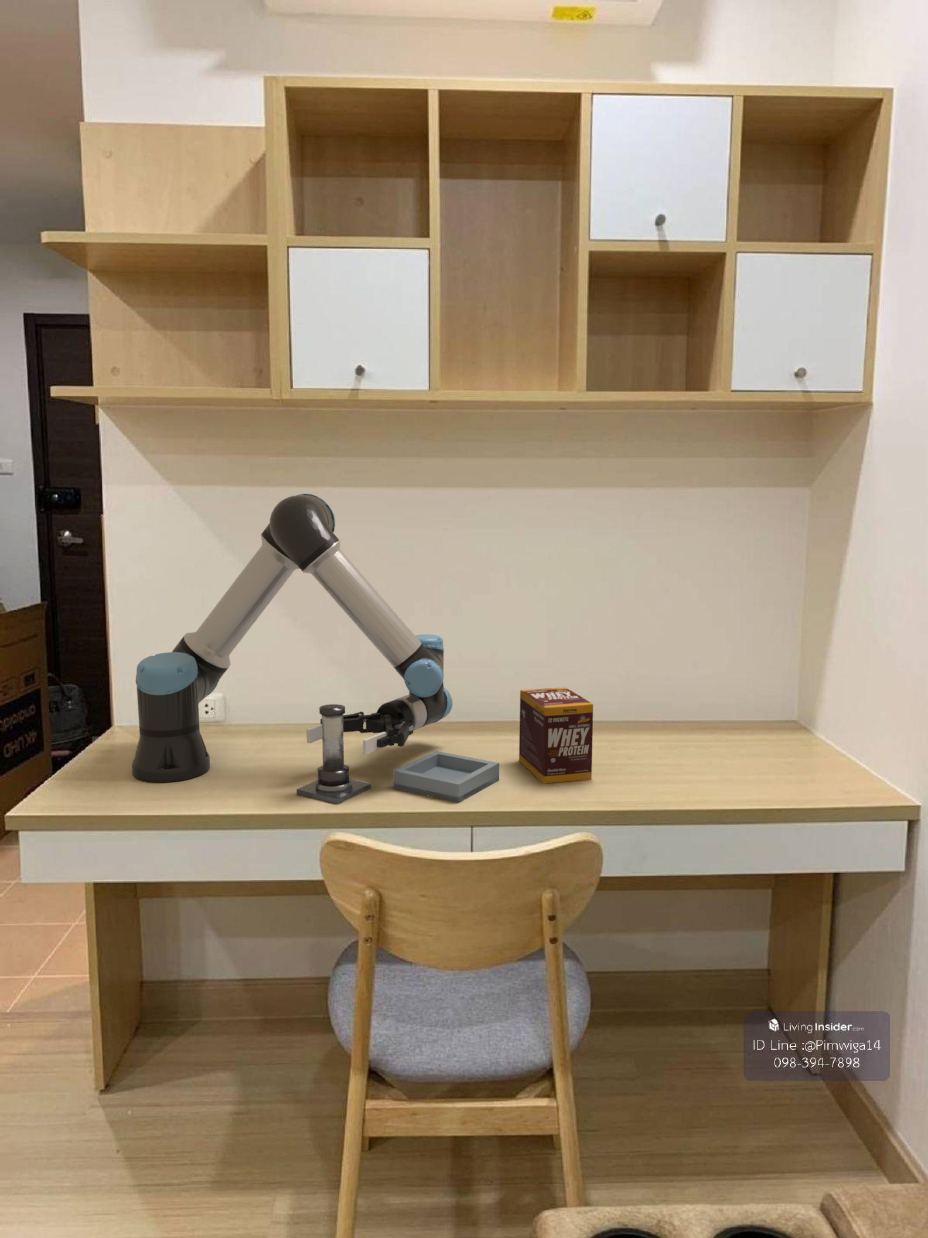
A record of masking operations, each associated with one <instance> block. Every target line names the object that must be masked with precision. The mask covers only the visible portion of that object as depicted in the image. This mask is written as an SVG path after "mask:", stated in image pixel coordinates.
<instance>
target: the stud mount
mask: <svg viewBox="0 0 928 1238" xmlns="http://www.w3.org/2000/svg"><path fill="white" fill-rule="evenodd" d="M371 789H372V783H371V782H370V783H369V782H366V781H361V780H355V779H352V778H351V777H350V781H349V783H347V784H345V785H342V786H335V787H328V786H322V785H320V784H319V783H318V778H317V779H316V780H315V781H313V782H310V783H308V784H306V785H303V786H300V787H298V788H296V795H299V796H302V795H303V797H306V798H311V799H314V800H318V799H319V801H323V802H327V803H331V802H332V804H335V805H339V804H341V803H343V802H345V801H347V800H351V799H352V798H353V797H356V796H358V795H360V794H363V793H365V792H367V791H369V790H371Z"/></svg>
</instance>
